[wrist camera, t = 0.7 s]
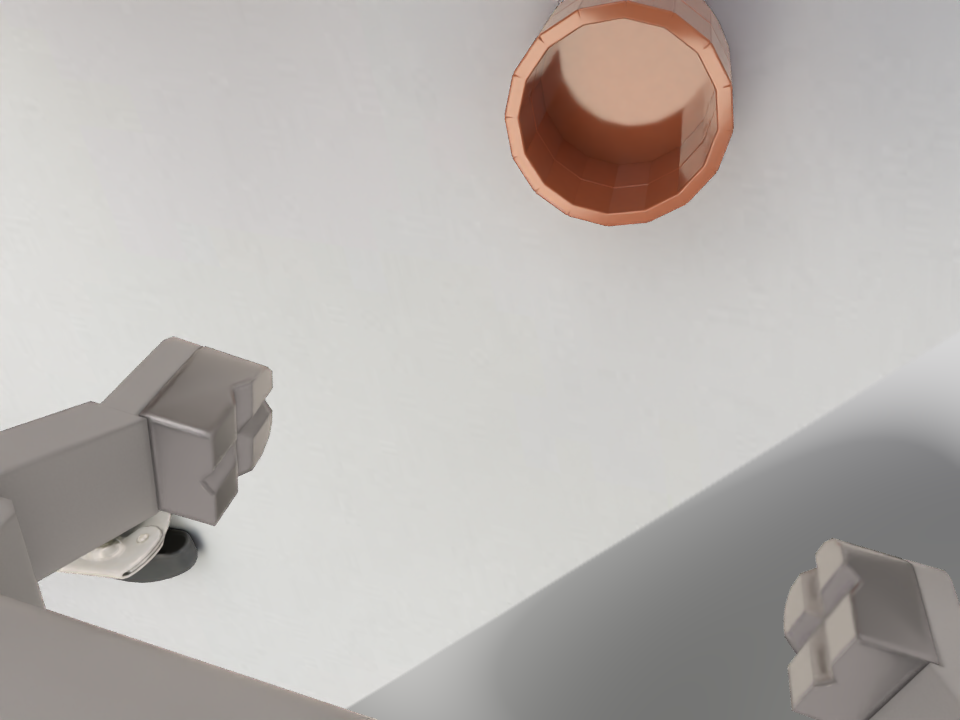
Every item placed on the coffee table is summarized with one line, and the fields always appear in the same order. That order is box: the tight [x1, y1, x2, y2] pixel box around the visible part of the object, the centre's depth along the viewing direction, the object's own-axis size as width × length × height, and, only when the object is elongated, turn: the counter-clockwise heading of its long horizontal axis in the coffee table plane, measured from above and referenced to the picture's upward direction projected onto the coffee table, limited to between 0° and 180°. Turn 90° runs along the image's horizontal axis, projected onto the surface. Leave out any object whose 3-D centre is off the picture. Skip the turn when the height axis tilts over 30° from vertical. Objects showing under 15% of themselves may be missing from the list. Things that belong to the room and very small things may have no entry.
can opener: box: [56, 511, 197, 583], centre depth 48 cm, size 19×6×5 cm, turn 96°
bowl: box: [505, 0, 734, 226], centre depth 24 cm, size 6×6×4 cm
